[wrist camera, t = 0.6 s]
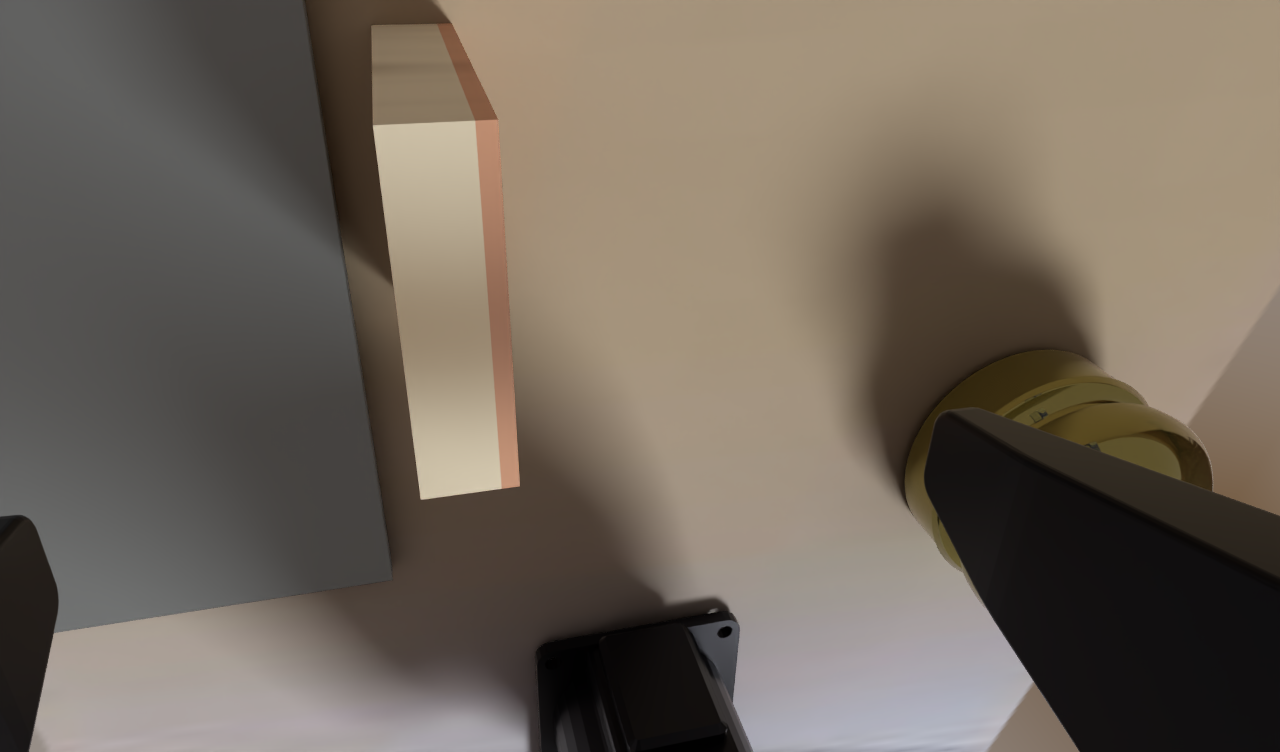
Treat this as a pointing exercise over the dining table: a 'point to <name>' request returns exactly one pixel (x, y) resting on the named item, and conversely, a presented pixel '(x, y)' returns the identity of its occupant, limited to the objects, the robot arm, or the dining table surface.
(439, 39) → the tile
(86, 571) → the mat
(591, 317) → the dining table surface
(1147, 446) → the olive tall rounded piece
